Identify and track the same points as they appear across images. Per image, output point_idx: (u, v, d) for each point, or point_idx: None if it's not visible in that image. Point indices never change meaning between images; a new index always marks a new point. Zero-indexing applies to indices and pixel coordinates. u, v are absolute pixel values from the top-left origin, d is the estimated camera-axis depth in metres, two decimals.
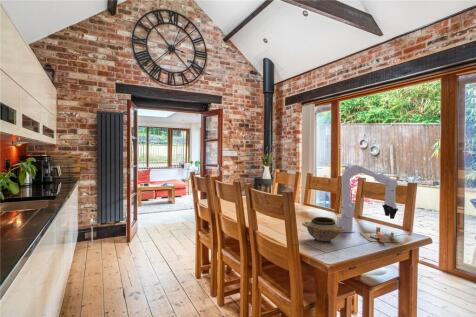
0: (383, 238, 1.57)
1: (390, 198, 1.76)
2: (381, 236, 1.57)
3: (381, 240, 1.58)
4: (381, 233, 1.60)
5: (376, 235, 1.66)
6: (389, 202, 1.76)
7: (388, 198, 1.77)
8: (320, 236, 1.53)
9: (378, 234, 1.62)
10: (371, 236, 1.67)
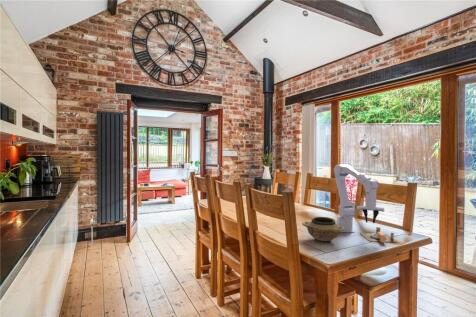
0: (383, 238, 1.57)
1: None
2: (381, 236, 1.57)
3: (381, 240, 1.58)
4: (381, 233, 1.60)
5: (376, 235, 1.66)
6: None
7: None
8: (320, 236, 1.53)
9: (378, 234, 1.62)
10: (371, 236, 1.67)
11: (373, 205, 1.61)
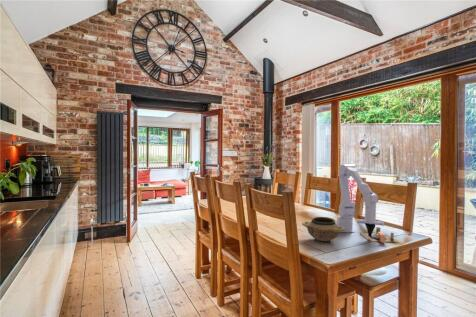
0: (383, 238, 1.57)
1: None
2: (381, 236, 1.57)
3: (381, 240, 1.58)
4: (381, 233, 1.60)
5: (376, 235, 1.66)
6: None
7: None
8: (320, 236, 1.53)
9: (378, 234, 1.62)
10: (371, 236, 1.67)
11: (373, 219, 1.61)
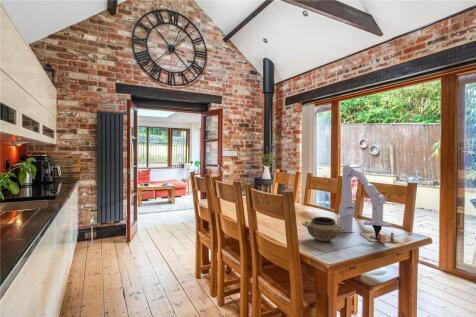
0: (383, 238, 1.57)
1: None
2: (381, 236, 1.57)
3: (381, 240, 1.58)
4: (381, 233, 1.60)
5: None
6: None
7: None
8: (320, 236, 1.53)
9: (378, 234, 1.62)
10: (371, 236, 1.67)
11: (380, 221, 1.58)
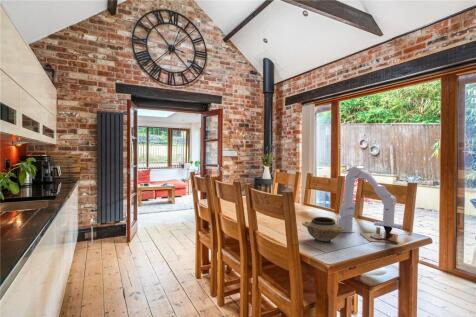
0: (397, 237, 1.60)
1: None
2: (396, 235, 1.59)
3: (396, 239, 1.59)
4: (390, 232, 1.62)
5: (380, 235, 1.65)
6: None
7: None
8: (320, 236, 1.53)
9: None
10: (378, 238, 1.63)
11: (391, 222, 1.57)
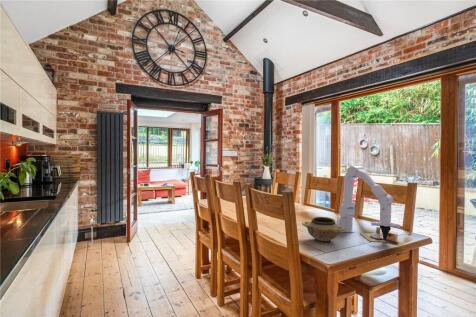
0: (397, 237, 1.60)
1: None
2: (396, 235, 1.59)
3: (396, 239, 1.59)
4: (390, 232, 1.62)
5: (380, 235, 1.65)
6: None
7: None
8: (320, 236, 1.53)
9: None
10: (378, 238, 1.63)
11: (388, 221, 1.57)
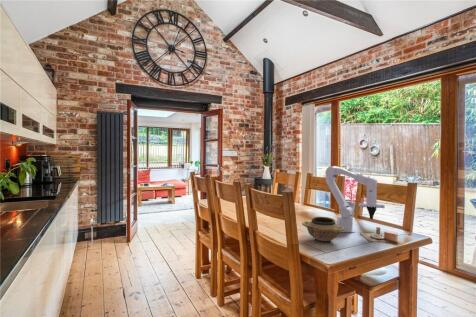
0: (397, 237, 1.60)
1: None
2: (396, 235, 1.59)
3: (396, 239, 1.59)
4: (390, 232, 1.62)
5: (380, 235, 1.65)
6: None
7: None
8: (320, 236, 1.53)
9: (387, 234, 1.62)
10: (378, 238, 1.63)
11: (374, 202, 1.70)
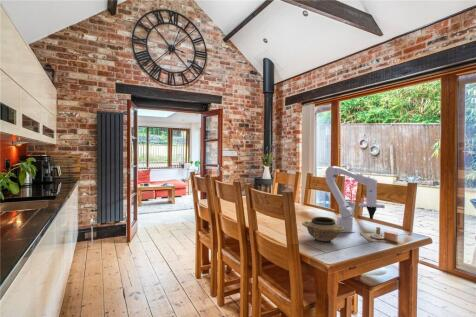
0: (397, 237, 1.60)
1: None
2: (396, 235, 1.59)
3: (396, 239, 1.59)
4: (390, 232, 1.62)
5: (380, 235, 1.65)
6: None
7: None
8: (320, 236, 1.53)
9: (387, 234, 1.62)
10: (378, 238, 1.63)
11: (374, 202, 1.70)
